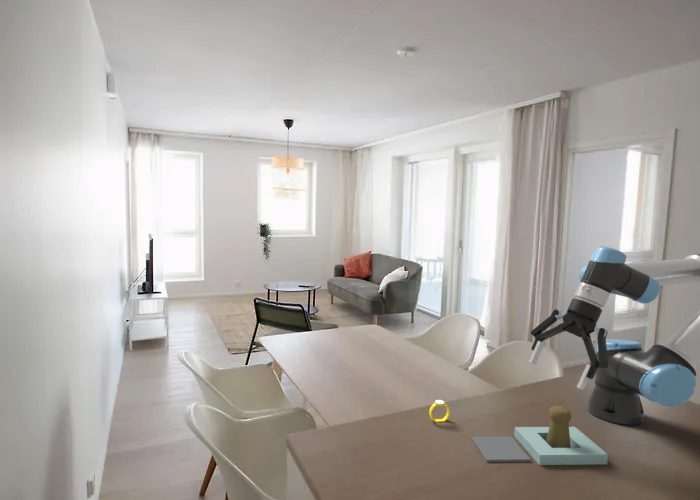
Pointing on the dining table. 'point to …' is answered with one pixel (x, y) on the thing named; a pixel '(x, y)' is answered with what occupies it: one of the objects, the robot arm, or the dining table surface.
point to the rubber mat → (500, 449)
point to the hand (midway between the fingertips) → (554, 375)
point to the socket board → (544, 454)
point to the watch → (439, 403)
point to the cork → (559, 427)
